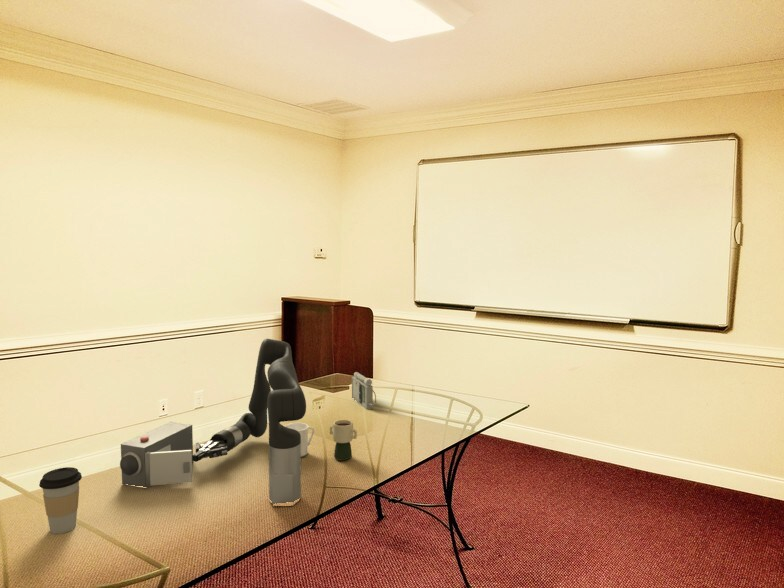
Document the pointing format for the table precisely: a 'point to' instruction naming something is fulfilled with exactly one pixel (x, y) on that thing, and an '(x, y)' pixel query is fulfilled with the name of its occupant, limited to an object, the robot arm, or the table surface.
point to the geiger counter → (362, 391)
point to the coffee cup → (61, 498)
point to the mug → (302, 435)
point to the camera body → (152, 449)
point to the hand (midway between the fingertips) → (194, 458)
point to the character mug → (343, 438)
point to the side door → (168, 467)
